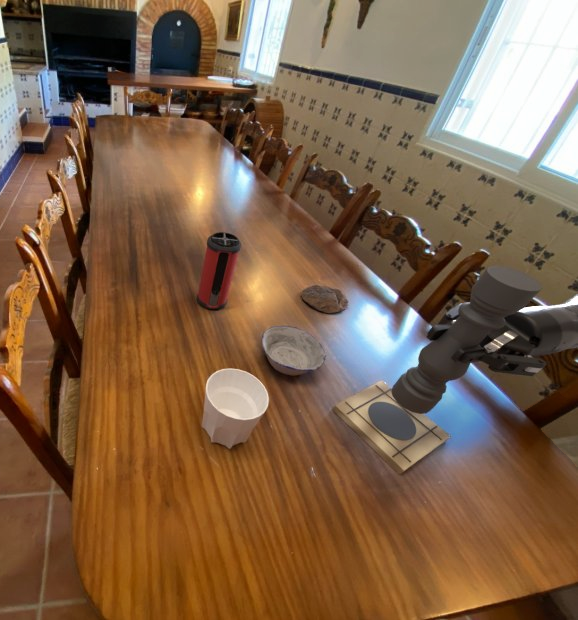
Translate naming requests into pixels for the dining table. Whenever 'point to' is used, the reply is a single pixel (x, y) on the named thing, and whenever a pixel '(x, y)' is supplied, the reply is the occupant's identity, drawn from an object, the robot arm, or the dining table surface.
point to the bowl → (292, 350)
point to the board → (390, 426)
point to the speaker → (218, 270)
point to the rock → (325, 298)
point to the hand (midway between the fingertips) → (443, 344)
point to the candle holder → (464, 336)
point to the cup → (233, 406)
